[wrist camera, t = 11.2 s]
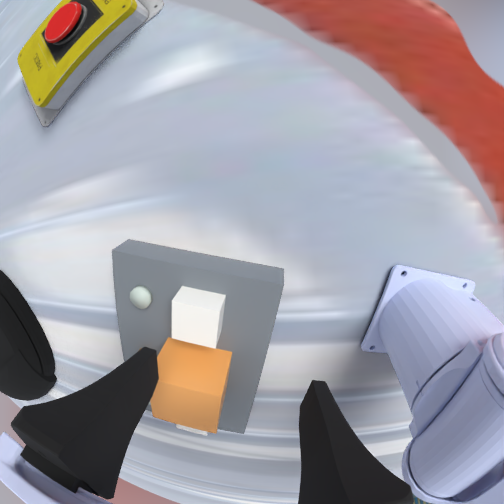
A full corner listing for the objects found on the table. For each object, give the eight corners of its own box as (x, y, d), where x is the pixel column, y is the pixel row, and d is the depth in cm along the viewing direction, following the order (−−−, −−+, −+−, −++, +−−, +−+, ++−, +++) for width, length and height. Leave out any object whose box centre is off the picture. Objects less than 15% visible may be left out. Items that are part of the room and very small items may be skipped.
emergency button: (148, -17, 9) (15, 133, 13) (171, 8, 13) (49, 131, 18) (105, -50, 7) (-5, 73, 11) (127, -31, 11) (24, 76, 15)
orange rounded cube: (232, 351, 19) (221, 396, 15) (225, 392, 21) (216, 433, 17) (168, 337, 19) (146, 376, 15) (170, 378, 21) (152, 416, 17)
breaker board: (283, 268, 19) (284, 300, 15) (246, 415, 26) (241, 448, 22) (128, 239, 20) (96, 260, 16) (142, 390, 26) (127, 418, 22)
